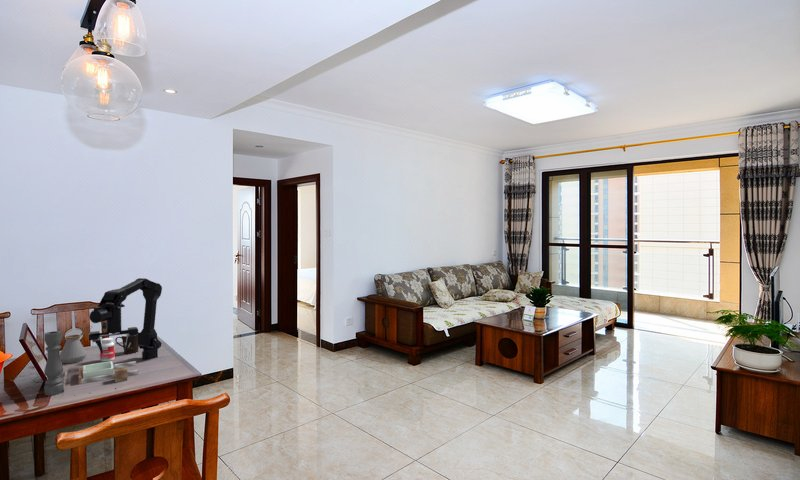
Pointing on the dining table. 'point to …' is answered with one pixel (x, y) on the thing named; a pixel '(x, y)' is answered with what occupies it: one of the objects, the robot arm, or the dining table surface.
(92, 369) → the crate
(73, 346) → the coffee pot
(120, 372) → the walnut block
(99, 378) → the bay board
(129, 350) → the coffee mug
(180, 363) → the dining table surface
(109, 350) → the pill bottle
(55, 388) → the candle holder
